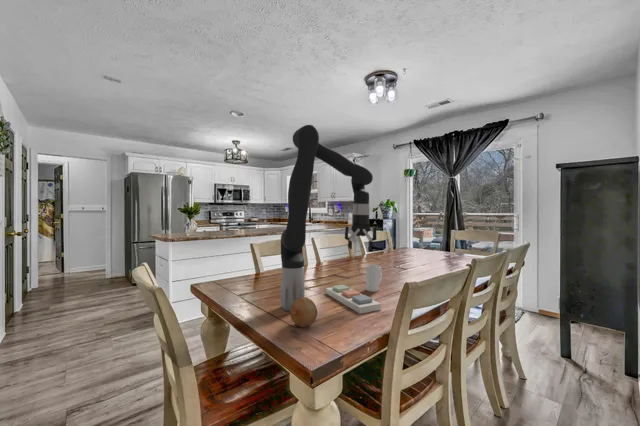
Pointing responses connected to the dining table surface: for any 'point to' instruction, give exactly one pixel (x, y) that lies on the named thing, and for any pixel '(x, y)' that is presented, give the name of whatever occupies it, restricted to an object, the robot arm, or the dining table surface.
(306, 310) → the onion
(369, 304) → the button panel
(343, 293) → the terracotta button
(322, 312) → the dining table surface
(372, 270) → the mug
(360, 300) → the grey button
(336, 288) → the green button
